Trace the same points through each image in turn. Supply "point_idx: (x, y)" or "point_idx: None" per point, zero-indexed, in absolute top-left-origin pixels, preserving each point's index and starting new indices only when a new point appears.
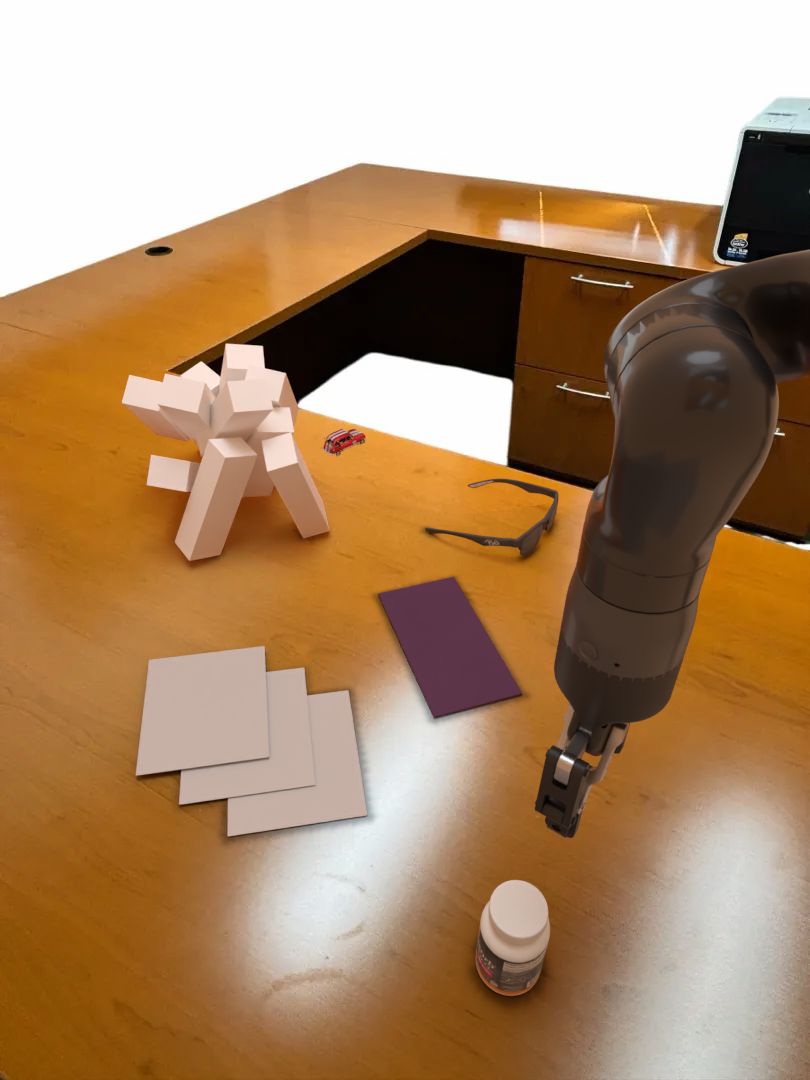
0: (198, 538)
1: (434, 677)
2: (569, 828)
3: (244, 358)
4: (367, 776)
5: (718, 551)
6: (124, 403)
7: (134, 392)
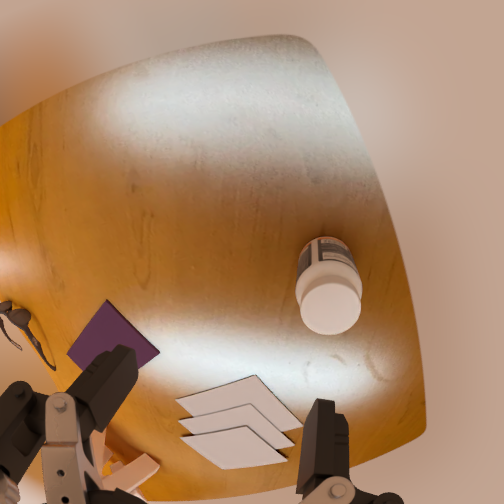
0: (149, 472)
1: None
2: (396, 494)
3: None
4: (226, 380)
5: None
6: None
7: None
